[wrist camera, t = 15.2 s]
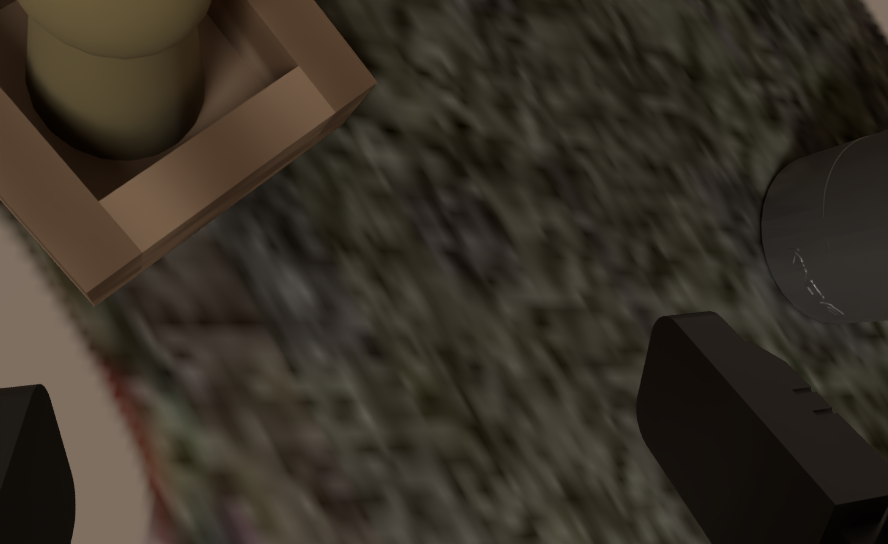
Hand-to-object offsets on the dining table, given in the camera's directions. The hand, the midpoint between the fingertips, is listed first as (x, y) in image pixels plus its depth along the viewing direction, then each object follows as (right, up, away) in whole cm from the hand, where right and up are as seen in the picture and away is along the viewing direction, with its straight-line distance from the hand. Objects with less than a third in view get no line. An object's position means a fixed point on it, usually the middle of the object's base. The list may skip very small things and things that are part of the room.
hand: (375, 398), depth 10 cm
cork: (-11, +9, +18) cm, 23 cm away
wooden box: (-11, +9, +19) cm, 23 cm away
